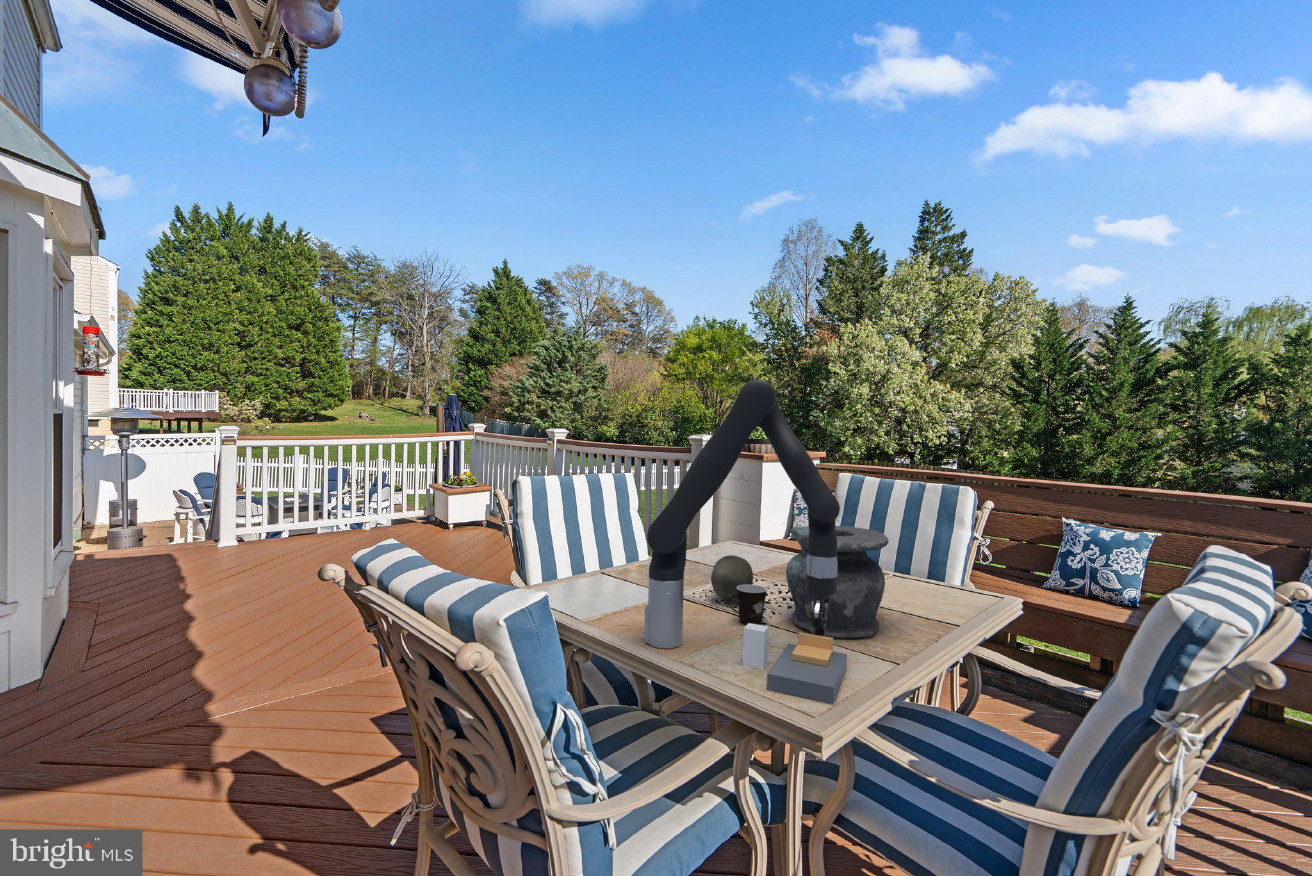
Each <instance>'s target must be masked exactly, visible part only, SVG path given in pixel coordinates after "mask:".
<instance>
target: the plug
mask: <svg viewBox="0 0 1312 876" xmlns="http://www.w3.org/2000/svg"><path fill="white" fill-rule="evenodd" d="M769 629H770V627H769V625H768V626H767V625H762V624H761V625H757V624H751V623H748V624H747V625H744V627H743V643H742V646H743V647H742V666H744V667H748V668H749V667H750V668H753V669H754V668H755V669H759V670H764V669H765V668H766V667H767V665H768V662H769Z"/></svg>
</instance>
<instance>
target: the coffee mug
mask: <svg viewBox="0 0 1312 876" xmlns="http://www.w3.org/2000/svg"><path fill="white" fill-rule="evenodd" d="M766 596H767V588H766V587H764V586H762V585H757V584H752V585H740V586H737V595H732V596H731V597H730V598H729V601H727V604H728V607H729V608H730V609H731V610H732V611H733V612H735V613H737V614H738V617H739V618H738V619H739V623H740V624H742V626H746V625H747V624H748V623H751V624H757V625H762V623H763V618H764V617H763V616H764V611H765V610H764V609H765V602H766ZM733 597H737V598H738V600H737V604H738V605H737V606H738V607H737V608H738V610H737V609H735V608H734V607H733V606H732V604H731V602H730V601H731V599H732V598H733Z"/></svg>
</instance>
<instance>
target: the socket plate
mask: <svg viewBox="0 0 1312 876" xmlns="http://www.w3.org/2000/svg"><path fill="white" fill-rule="evenodd" d="M796 646H797V644H794V643H793V644H792V643H787V644H786V646H785V647H784V649H783V650H782V651H781V654H779V656H778V657H777V659H776V660H775V662H774V663H773V664H772V666H771V667H770V669H769V671H768V672H767V674H766V690H767V691H771V692H777V693H781V694H785V695H790V696H795V697H798V698H802V699H803V698H804V699H807V700H813V701H817V702H822V703H826V704H830V703H832V705H834V704H833V703H835V701H836V698H837V695H838V693H839V691H840V687H841V685H842V682H843V679H844V677H845V675H844V674H846V672H847V667H848V665H847V664H848V654H847V653H842V652H837V651H833V655H832V657H831V659H830V661H829V663H828V666H827V667H826V666H821V665H816V664H811V663H806V662H801V661H796V660H791V654H792V652H793V651H794V649H795V648H796Z"/></svg>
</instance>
